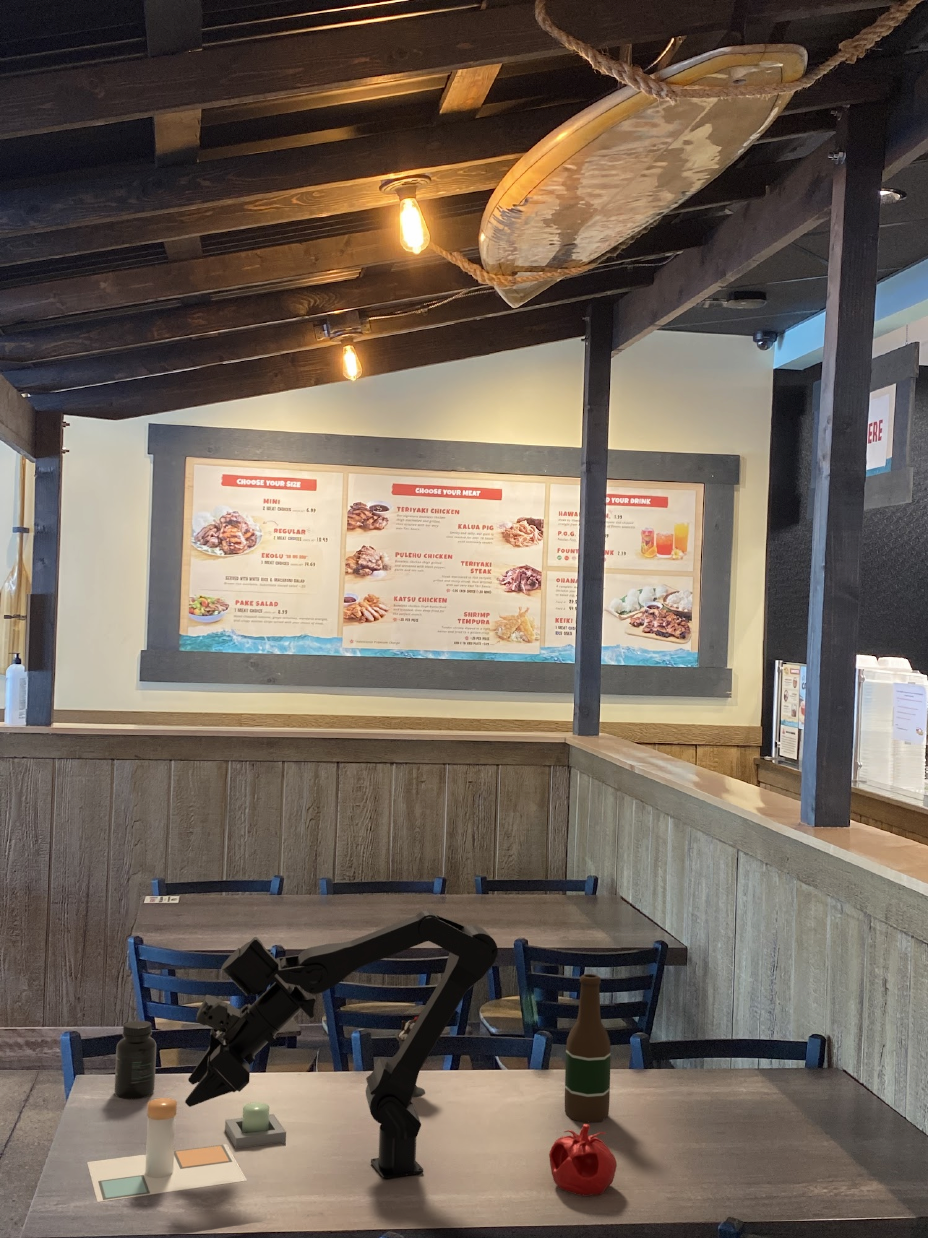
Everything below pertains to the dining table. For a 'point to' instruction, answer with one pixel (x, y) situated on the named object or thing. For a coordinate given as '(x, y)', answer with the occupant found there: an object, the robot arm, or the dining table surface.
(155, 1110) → the marker
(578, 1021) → the beer bottle
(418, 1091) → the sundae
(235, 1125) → the button housing
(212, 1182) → the colouring mat
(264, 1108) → the button
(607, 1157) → the pomegranate
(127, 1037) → the supplement bottle
